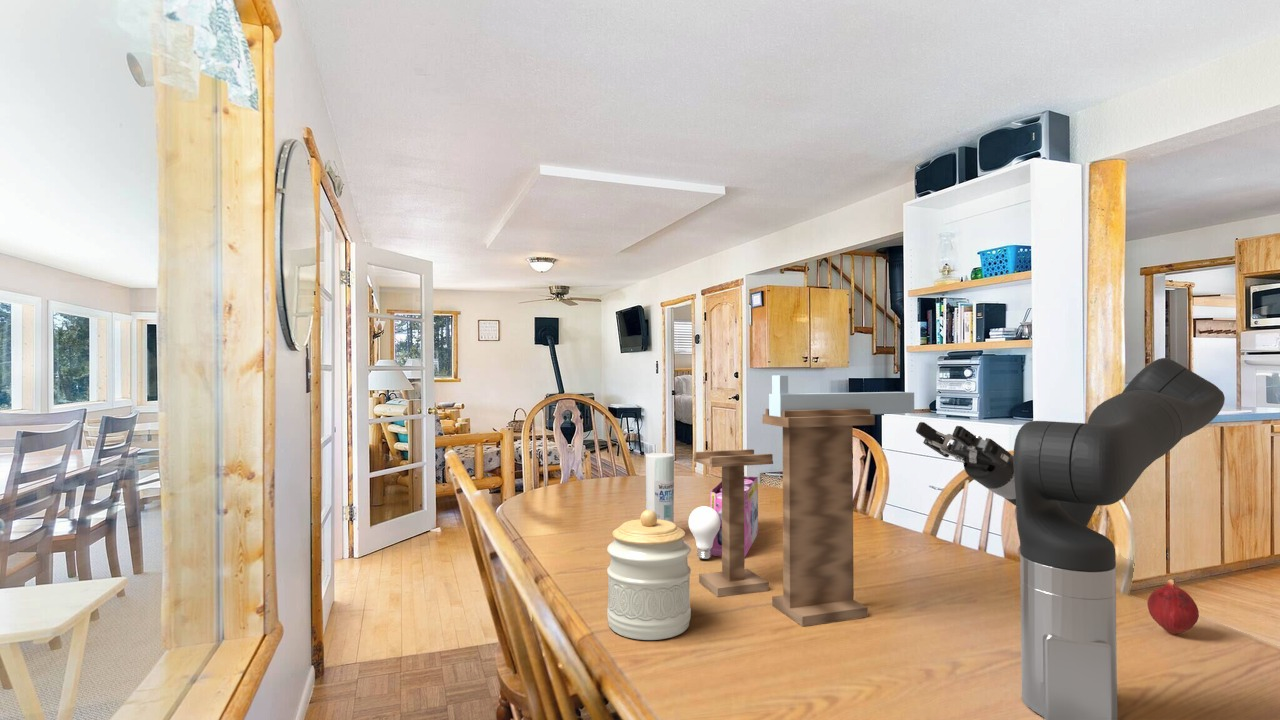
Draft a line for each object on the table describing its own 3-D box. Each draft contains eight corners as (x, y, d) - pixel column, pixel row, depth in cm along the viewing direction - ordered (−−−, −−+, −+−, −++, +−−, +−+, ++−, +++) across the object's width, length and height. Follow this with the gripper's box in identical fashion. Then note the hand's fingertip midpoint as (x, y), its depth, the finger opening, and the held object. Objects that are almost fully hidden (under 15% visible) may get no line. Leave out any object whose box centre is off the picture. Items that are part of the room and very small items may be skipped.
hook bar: (899, 411, 111) (899, 374, 111) (914, 413, 107) (914, 375, 107) (769, 415, 102) (769, 375, 102) (780, 416, 99) (780, 375, 99)
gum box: (744, 561, 130) (744, 495, 130) (706, 558, 132) (706, 493, 132) (758, 532, 153) (758, 476, 153) (726, 530, 155) (726, 474, 155)
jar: (617, 647, 90) (617, 522, 90) (599, 613, 102) (599, 504, 102) (703, 636, 93) (703, 516, 93) (675, 604, 106) (675, 499, 106)
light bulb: (682, 561, 129) (682, 507, 130) (696, 553, 135) (696, 501, 135) (712, 566, 126) (712, 511, 126) (725, 558, 132) (725, 505, 132)
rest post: (752, 576, 120) (751, 449, 121) (773, 590, 113) (773, 454, 113) (694, 582, 116) (693, 451, 117) (712, 597, 109) (712, 457, 109)
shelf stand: (843, 596, 110) (842, 406, 110) (878, 615, 101) (876, 409, 102) (761, 607, 105) (760, 408, 105) (791, 628, 96) (790, 411, 96)
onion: (1208, 644, 90) (1208, 588, 90) (1162, 640, 91) (1162, 585, 92) (1182, 627, 96) (1182, 575, 96) (1139, 624, 97) (1139, 572, 97)
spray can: (661, 537, 148) (660, 451, 149) (680, 542, 143) (679, 454, 144) (639, 541, 144) (639, 454, 144) (658, 548, 139) (658, 457, 139)
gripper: (974, 448, 123) (915, 407, 118) (1041, 457, 109) (978, 412, 105) (959, 482, 121) (899, 442, 117) (1025, 496, 108) (960, 452, 103)
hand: (936, 428), depth 111 cm, fingers open, 8 cm apart
